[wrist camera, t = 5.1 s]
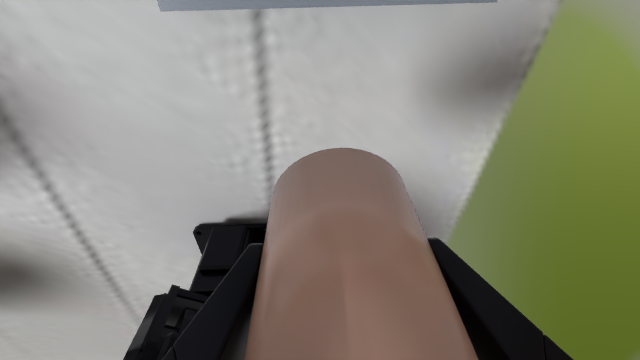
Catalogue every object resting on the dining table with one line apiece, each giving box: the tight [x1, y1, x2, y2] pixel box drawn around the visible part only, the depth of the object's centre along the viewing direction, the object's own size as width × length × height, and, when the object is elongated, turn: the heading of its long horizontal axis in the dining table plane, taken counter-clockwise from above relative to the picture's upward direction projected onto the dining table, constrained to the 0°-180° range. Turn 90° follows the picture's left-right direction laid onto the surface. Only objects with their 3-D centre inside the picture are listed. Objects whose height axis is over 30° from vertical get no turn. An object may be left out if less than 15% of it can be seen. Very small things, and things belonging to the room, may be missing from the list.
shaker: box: [243, 148, 479, 360], centre depth 7 cm, size 5×5×9 cm
